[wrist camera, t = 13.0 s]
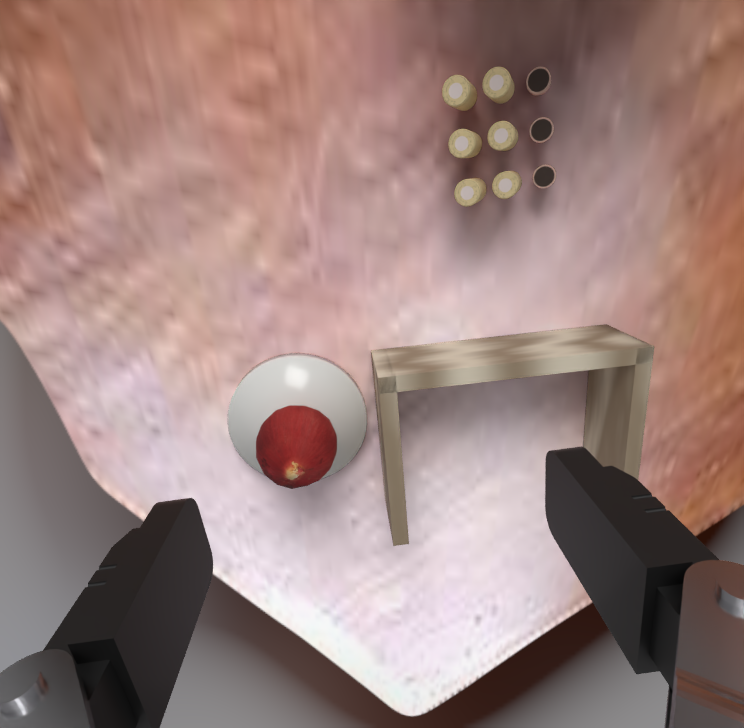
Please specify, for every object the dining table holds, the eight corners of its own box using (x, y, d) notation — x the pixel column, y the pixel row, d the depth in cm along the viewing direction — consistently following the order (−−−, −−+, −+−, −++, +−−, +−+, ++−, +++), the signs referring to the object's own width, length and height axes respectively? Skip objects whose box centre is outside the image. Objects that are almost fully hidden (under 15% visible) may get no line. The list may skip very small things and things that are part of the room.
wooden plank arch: (606, 324, 38) (654, 346, 32) (593, 472, 43) (633, 514, 37) (370, 350, 37) (377, 377, 31) (385, 498, 42) (393, 545, 36)
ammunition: (458, 208, 29) (582, 184, 30) (442, 76, 27) (577, 49, 27) (441, 208, 34) (549, 186, 34) (427, 94, 32) (542, 71, 32)
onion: (321, 463, 39) (318, 527, 31) (253, 442, 38) (234, 503, 30) (347, 402, 37) (350, 454, 29) (277, 378, 36) (262, 426, 28)
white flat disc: (359, 345, 37) (359, 350, 36) (371, 466, 41) (372, 474, 39) (218, 361, 36) (214, 366, 35) (244, 481, 40) (241, 490, 39)
